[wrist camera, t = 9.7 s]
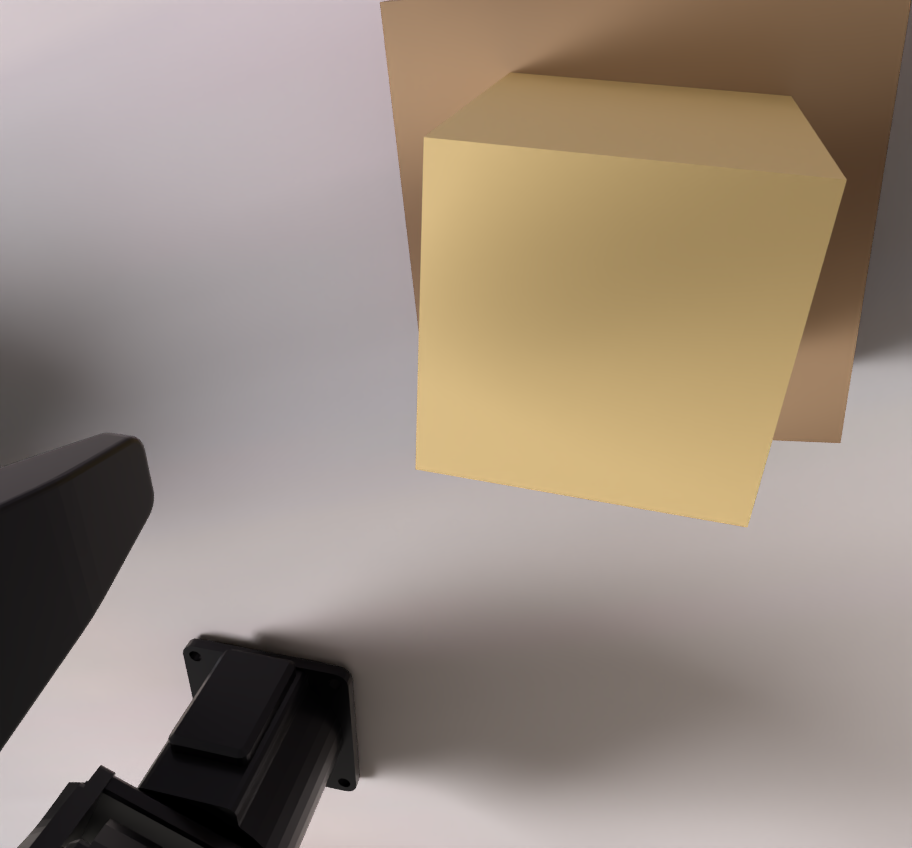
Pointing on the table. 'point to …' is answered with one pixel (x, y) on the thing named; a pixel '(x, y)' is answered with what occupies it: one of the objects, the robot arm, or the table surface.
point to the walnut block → (695, 66)
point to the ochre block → (617, 288)
